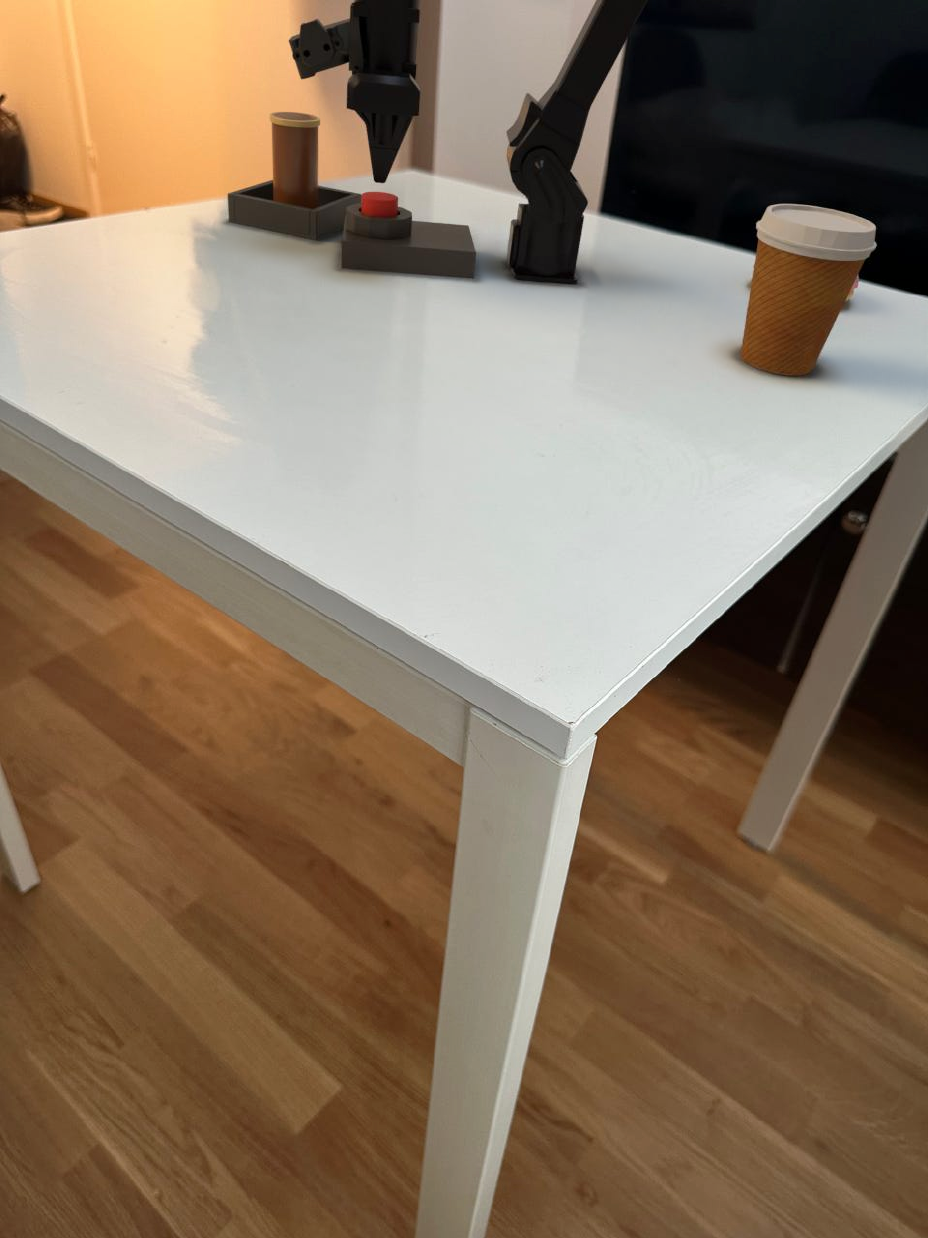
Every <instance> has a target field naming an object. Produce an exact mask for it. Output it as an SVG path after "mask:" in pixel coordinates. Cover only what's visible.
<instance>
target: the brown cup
mask: <svg viewBox="0 0 928 1238" xmlns="http://www.w3.org/2000/svg"><path fill="white" fill-rule="evenodd" d="M269 122H270V123H271V151H272V152H271V154H272V158H271V159H272V180H273V201H276V202H281V203H286V204H291V205H296V206H301V207H305V208H310V209H315V208H318V186H319V126H320V125H321V118H320V117H319V116H317V115H314V114H310V113H305V112H295V111H275V112H270V113H269Z"/></svg>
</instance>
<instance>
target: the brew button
mask: <svg viewBox="0 0 928 1238" xmlns="http://www.w3.org/2000/svg"><path fill="white" fill-rule="evenodd" d="M398 207H399V196H397V195H395V194H392V193H389V192H384V191H366V192H363V193H362V200H361V213H363V214H367V215H371V216H379V217H395V216H397V214H398Z"/></svg>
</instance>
